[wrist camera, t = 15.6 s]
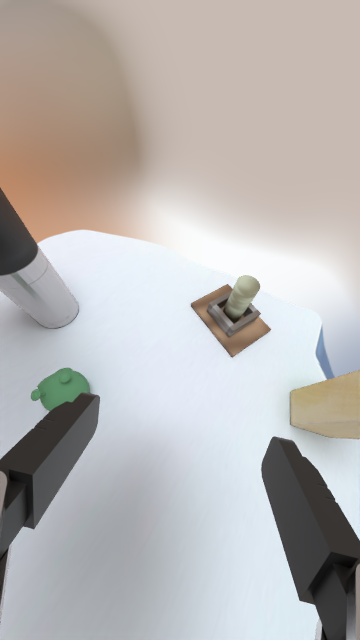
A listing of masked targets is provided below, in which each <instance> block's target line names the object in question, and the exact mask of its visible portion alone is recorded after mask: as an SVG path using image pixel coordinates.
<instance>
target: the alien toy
mask: <svg viewBox="0 0 360 640" xmlns="http://www.w3.org/2000/svg"><path fill="white" fill-rule="evenodd" d="M37 387H38V389H36V390H34V391H33V392H32V394H31V399H32V400H34V401H36V400H38V399H39V398H40V400H41V403H42V404H43V406H44V407H45V408H46V409H47V410H49V411H51V410H52V409H53V408H55V407H57V406H59V405H60V404H62V403H64V402H66V401H68V402H73V401H74V400H75V399H76V398H77V397H78V395H79V394H80V393H82V392H86V393H89V384H88V382H87V380H86V378H85V377H84V376H83V375H82V374H80V373H78V372H76V371H73V370H72V369H71V368H63V369H60V370H59V371H57V372H56V373H54V374H52V375H51V376H49V377H47V378H45V379H44V380H43V381H42V382H41V383H40V384H39V385H38V386H37Z"/></svg>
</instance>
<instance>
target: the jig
mask: <svg viewBox="0 0 360 640" xmlns="http://www.w3.org/2000/svg"><path fill="white" fill-rule="evenodd" d="M232 290H233V289H232V288H231V287H230V286H229V285H228V284H227V285H225V286H223V287H221V288H219V289H217V290H215V291H214V292H212V293H210V294H208V295H206V296H204V297H202V298H200V299H198V300H196V301H195V302H193V303H191V307H192V308H193V309H194V310H195V312H196V313H197V314H198V315H199V317H200V318H201V319H202V320H203V322H204V323H205V324H206V325H207V327H208V328H209V329H210V330H211V332H212V333H213V334H214V335H215V337H216V338H217V339H218V340H219V342H220V343H221V344H222V345H223V347H224V348H225V349H226V350H227V352H228V353H229V354H230V355H231V357H233V356H235V355H236V354H237V353H239V352H240V351H242V350H243V349H245V348H246V347H247V346H249V345H250V344H252V343H253V342H255V341H256V340H258V339H259V338H260V337H262V336H263V335H265V334H266V333H268V332H269V331H270V330H271V329H270V328H269V327H268V326H267V325H266V324H265V322H264V321H263V320H262V319H261V318H260V317H259V315H260V314H261V313H260V312H259V311H258V310H257V309H256V308H255V307H254V306H253V305H252V304H251V303H250V304H249V306H248V307H247V309H246V310H245V312H244V313H243V315H242V316H241V318H240V319H239V321H238V322H237V323H235V324H233V323H232V322H231V321H230V319H229V318H228V317H227V316H226V315H225V314H224V312H223V309H224V307H225V305H226V303H227V301H228V299H229V296H230V294H231V292H232Z"/></svg>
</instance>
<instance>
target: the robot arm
mask: <svg viewBox="0 0 360 640" xmlns="http://www.w3.org/2000/svg"><path fill="white" fill-rule="evenodd" d="M0 291H1V292H3V293H4V294H5V295H6V296H7V297H9V298H10V299H11V300H12V301H13V302H15V303H16V304H17V305H18V306H19V307H21V308H22V309H23V310H24V311H25V312H27V313H28V314H29V315H30V316H31V317H32V318H34V319H35V320H36V321H37V322H38V323H40V324H41V325H42V326H44V327H46V328H59V327H62V326H65V325H67V324H69V323H70V322H71V321H72V320H73V319H74V318H75V317H76V315H77V314H78V311H79V305H78V303H77V301H76V299H75V298H74V296H73V295H72V294H71V292H70V291H69V289H68V288H67V286H66V285H65V283H64V282H63V281H62V279H61V278H60V276H59V275H58V273H57V272H56V271H55V269H54V268H53V266H52V265H51V263H50V262H49V261H48V259H47V258H46V256H45V255H44V254H43V252H42V251H41V249H40V248H39V246H38V245H37V243H36V242H35V241H34V239H33V238H32V236H31V235H30V233H29V231H28V230H27V228H26V227H25V225H24V223H23V222H22V220H21V219H20V217H19V216H18V214H17V213H16V211H15V210H14V208H13V207H12V205H11V204H10V202H9V201H8V199H7V198H6V196H5V194H4V193H3V191H2V190H1V188H0ZM99 403H100V397H99V395H94V394H90V393H86V392H82V393H80V394H79V395H78V397H77V398H76V399H75V400H74V401H73V402H68V401H66V402H64V403H62V404H60V405H59V406H57V407H55V408H53V409H52V410H51V411H50V412H49V413H48V414H47V415H46V416H45V417H44V418H43V420H41V421H40V422H39V423H38V424H37V425H36V426H35V427H34V429H32V430H30V431H29V432H28V433H27V434H26V435H25V436H24V437H23V438H22V439H21V440H20V441H19V442H18V443H17V444H16V445H15V446H14V447H13V448H12V449H11V450H10V451H9V452H8V453H7V454H6V455H4V456H3V457H2V458H1V459H0V624H1V617H2V610H3V603H4V595H5V588H6V581H7V574H8V566H9V559H10V552H11V543H12V541H13V540H14V538H15V537H16V535H17V534H18V533H19V531H20V530H21V528H22V527H23V526H24V527H28V528H32V529H34V528H35V527H36V525H37V524H38V522H39V521H40V519H41V517H42V516H43V514H44V513H45V511H46V509H47V508H48V506H49V505H50V503H51V502H52V500H53V498H54V497H55V495H56V494H57V492H58V490H59V489H60V487H61V486H62V484H63V483H64V481H65V479H66V478H67V476H68V475H69V473H70V472H71V470H72V468H73V467H74V465H75V464H76V462H77V460H78V459H79V457H80V456H81V454H82V453H83V451H84V449H85V448H86V446H87V445H88V443H89V441H90V440H91V438H92V437H93V435H94V433H95V430H96V427H97V423H98V414H99ZM261 471H262V478H263V482H264V485H265V488H266V492H267V495H268V498H269V502H270V505H271V508H272V511H273V515H274V518H275V521H276V524H277V528H278V531H279V534H280V538H281V541H282V544H283V547H284V551H285V554H286V557H287V561H288V564H289V567H290V570H291V574H292V577H293V580H294V584H295V587H296V590H297V593H298V597H299V600H300V601H303V602H307V603H310V604H314V605H315V606H316V609H317V612H318V615H319V617H320V618H319V620H318V622H317V626H316V635H315V640H360V540H359V539H358V537H357V535H356V534H355V532H354V530H353V529H352V527H351V525H350V524H349V522H348V520H347V519H346V517H345V515H344V513H343V512H342V510H341V508H340V507H339V505H338V503H336V502H335V498H334V497H333V495H332V493H331V491H330V490H329V489H328V488H327V485H326V483H325V481H324V480H323V478H322V476H321V475H320V473H319V471H318V470H317V469H316V468H315V467H314V466H313V465H312V463H311V462H310V461H309V460H308V459H307V458H306V457H302V455H301V453H300V451H299V449H298V448H297V446H296V444H295V443H294V442H293V441H292V440H288V439H283V438H279V437H273V438H272V439H271V441H270V444H269V446H268V449H267V451H266V454H265V456H264V459H263V461H262V467H261Z"/></svg>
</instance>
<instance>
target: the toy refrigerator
mask: <svg viewBox="0 0 360 640" xmlns="http://www.w3.org/2000/svg"><path fill="white" fill-rule="evenodd" d="M290 418H291V425H293V426H295V427H299V428H302V429H305V430H308V431H311V432H314V433H317V434H321V435H324V436H327V437H331V438H347V439H360V370H358V371H355V372H351V373H348V374H345V375H342V376H338V377H335V378H332V379H329V380H326V381H322V382H319V383H316V384H312V385H309V386H306V387H302V388H299V389H296V390H292V391H291V393H290Z"/></svg>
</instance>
